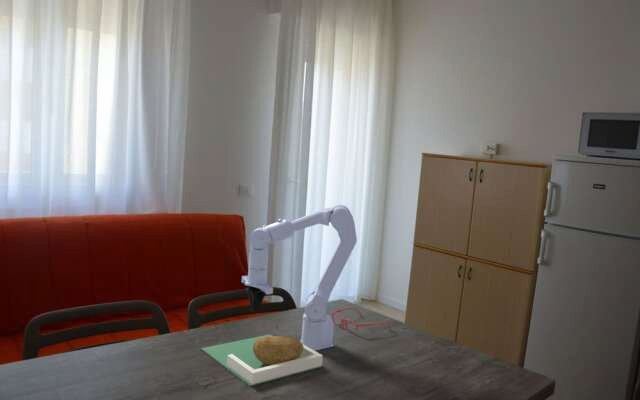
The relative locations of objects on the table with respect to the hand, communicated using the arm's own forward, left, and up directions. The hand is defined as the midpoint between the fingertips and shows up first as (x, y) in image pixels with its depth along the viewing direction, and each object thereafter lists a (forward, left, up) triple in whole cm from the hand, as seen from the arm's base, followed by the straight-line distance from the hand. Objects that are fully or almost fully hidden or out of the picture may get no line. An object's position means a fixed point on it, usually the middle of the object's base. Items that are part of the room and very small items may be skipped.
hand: (255, 310), depth 163 cm
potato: (+4, +19, -9) cm, 22 cm away
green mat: (+5, +12, -9) cm, 16 cm away
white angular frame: (+5, +19, -9) cm, 22 cm away
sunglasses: (-40, +6, -10) cm, 41 cm away
